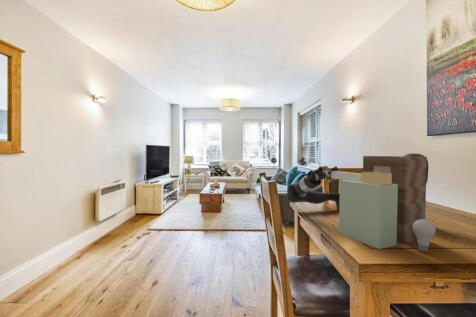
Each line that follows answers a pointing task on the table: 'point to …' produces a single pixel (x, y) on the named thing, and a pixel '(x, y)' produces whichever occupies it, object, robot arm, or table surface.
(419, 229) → the lightbulb
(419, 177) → the parts stand
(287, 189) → the robot arm
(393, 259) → the table surface
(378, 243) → the sage green carton
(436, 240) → the table surface
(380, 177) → the shaft
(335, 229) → the table surface
